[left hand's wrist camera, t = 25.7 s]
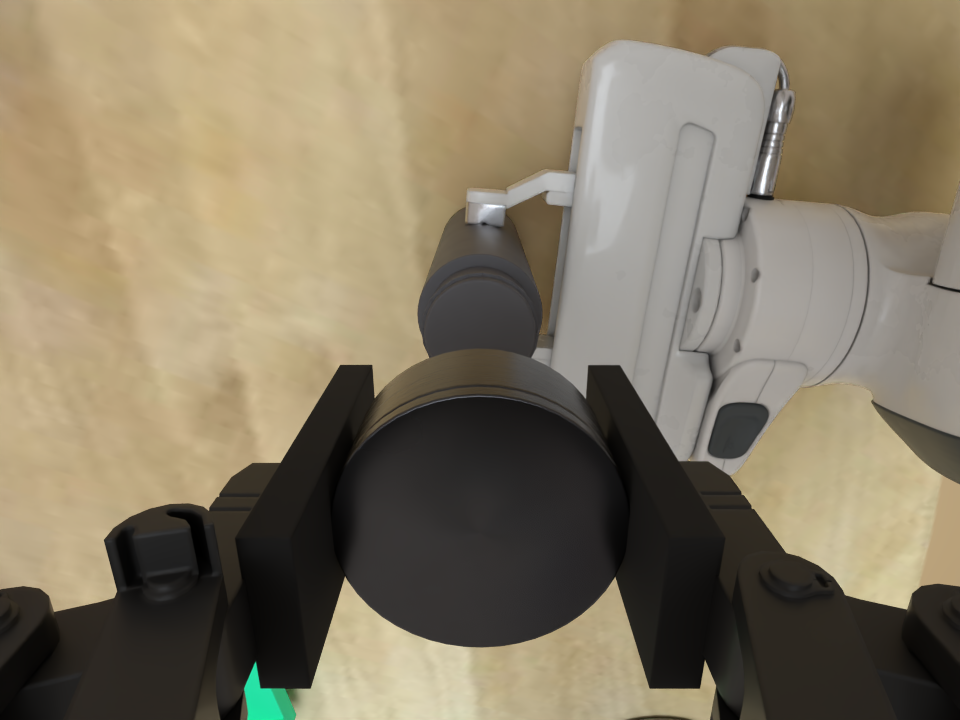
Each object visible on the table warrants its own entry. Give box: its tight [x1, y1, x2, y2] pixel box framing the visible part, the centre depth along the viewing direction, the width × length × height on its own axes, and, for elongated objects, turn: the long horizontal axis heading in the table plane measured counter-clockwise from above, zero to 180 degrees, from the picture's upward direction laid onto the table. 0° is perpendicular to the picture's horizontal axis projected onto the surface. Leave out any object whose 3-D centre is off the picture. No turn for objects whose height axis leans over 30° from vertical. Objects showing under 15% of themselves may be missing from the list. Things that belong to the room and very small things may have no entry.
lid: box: [331, 349, 630, 647], centre depth 11 cm, size 5×5×2 cm
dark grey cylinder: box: [418, 207, 542, 358], centre depth 27 cm, size 4×4×16 cm
